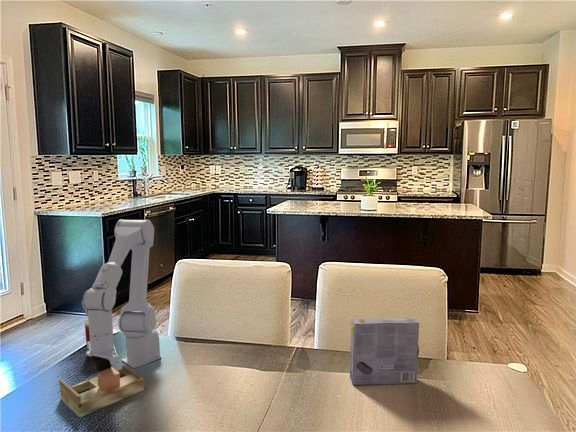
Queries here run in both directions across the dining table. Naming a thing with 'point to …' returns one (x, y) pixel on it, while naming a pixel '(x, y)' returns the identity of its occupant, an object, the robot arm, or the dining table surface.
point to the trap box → (100, 392)
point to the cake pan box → (384, 351)
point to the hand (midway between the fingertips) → (104, 380)
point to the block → (108, 379)
